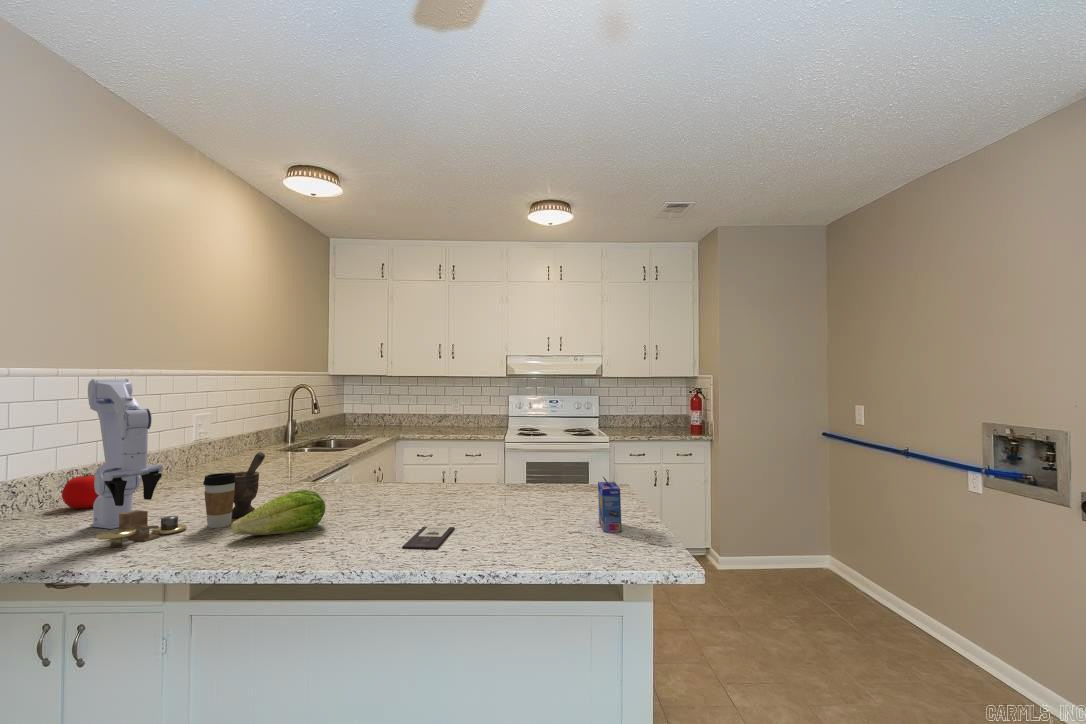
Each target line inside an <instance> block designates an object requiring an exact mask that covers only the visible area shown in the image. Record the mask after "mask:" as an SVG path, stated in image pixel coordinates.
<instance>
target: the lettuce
mask: <svg viewBox="0 0 1086 724" xmlns="http://www.w3.org/2000/svg"><path fill="white" fill-rule="evenodd" d="M325 513H326V503H325V500H324V499H323V498H322V496H321V495H320V494H319V493H318V492H316V491H311V490H306V489H302V490H297V491H292V492H289V493H286V494H283V495H282V494H281V495H280V496H278V497H276V498H275V497H274V499H272V500H270V501H268V502H266V503H263V504H262V505H261V506H258V507H257V508H255V510H253V511H252V512H250V513H249V514H247V515H245V516H244V517H240V518H237V519H236V520H235V521H232V522H231V524H230V528H231V529H230V530H231V532H232V533H233V534H234V535H251V536H252V535H255V536H267V535H279V534H280V535H281V534H292V533H298V532H303V531H307V530H311V529H313V528H314V527H316V526H317V525H318V524H319V523H320V522H321V521H322V519H323V517H324V515H325Z"/></svg>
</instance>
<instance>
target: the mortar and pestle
mask: <svg viewBox="0 0 1086 724" xmlns="http://www.w3.org/2000/svg"><path fill="white" fill-rule="evenodd" d="M265 457H266V454H265V453H264V452H261V451H259V452H257V453H256V454H255V455H254V457H253V459H252V461H251V463H250V465H249V468H248V469H247V471H245V470H243V471H242V470H241V471H236V472H234V473H235V476H236V482H235V487H234V489H235V494H234V502H233V505H234V506H233V510H232V518H233V519H240V518H242V517H244V516H245V515H247V514H249V513H250V512H252V511H253V510H255V509H256V508H255V507H253V506H252V502H253V500H254V499H256V497H257V494H258V490H259V486H260V485H259V480H260V472H258V471H257V470H258V468H259V467H260V465H262V463H263V461H264V459H265Z"/></svg>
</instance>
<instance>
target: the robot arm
mask: <svg viewBox="0 0 1086 724" xmlns="http://www.w3.org/2000/svg"><path fill="white" fill-rule="evenodd" d="M87 384H88V385H87V398H88V405H89V407H90V408H89V409H90V410H92V411H94V412H96V413H97V416H98V420H99V426H100V433H101V441H102V447H103V455H104V463H103V464H101V465H100V466H99V467H98V468H96V470H95V473H94V475H95V481H94V488H95V492H96V494H98V495H100V496H98V497H97V498H96V500H95V502H94V505H93V507H92V509H93V510H92V511H93V512H92V513H93V514H92V517H93V518H92V523H90V524H89V527H94V528H100V529H101V528H102V529H103V528H104V529H110V530H114V529H119V514H121V513H125V512H129V511H133V510H134V509H133V505H134V501H133V499H134V494H135V493H136V491H137V490H138V489H139V488H140V486H141V482H142V485H143V489H142V490H143V491H142V493H143V499H144V500H146V501H150V500H152V498H153V495H154V492H155V489H156V487H157V484H158V483H159V480H161V478H162V475H163V474H162V472H163V466H164V465H162V464H154V465H153V464H152V465H148V445H149V444H148V443H149V442H148V439H149V438H148V437H149V434H148V433H149V430H150V429H151V427H152V421H153V420H152V419H153V418H152V413H151V412H152V411H151V410H150V409H149V408H143V407H142V406H141V404H140V403H139V402H138V400H137V398H134V397H133V396H132V395H133V383H132V381H131V380H130V379H129V378H125V379H94V378H92V379H91V380H90V381H88V383H87ZM141 480H142V481H141Z"/></svg>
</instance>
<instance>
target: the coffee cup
mask: <svg viewBox="0 0 1086 724" xmlns="http://www.w3.org/2000/svg"><path fill="white" fill-rule="evenodd" d="M235 482H236V476H235V472H220V473H210V474H207V475H205V476H204V480H203V483H202V485H203V486H204V501H205V514H206V522H207V523H206V524H207V526H206V527H208V528H210V529H218V528H225V527H228V526H231V523H232V510H233V508H234V494H235V489H234V487H235Z"/></svg>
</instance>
